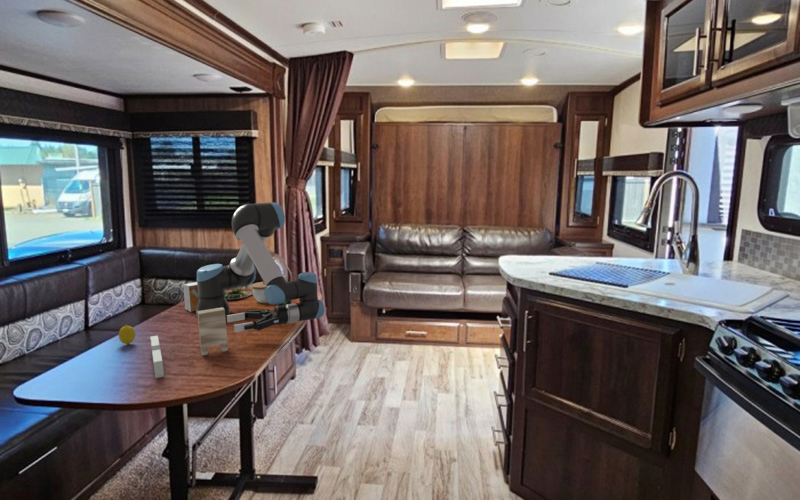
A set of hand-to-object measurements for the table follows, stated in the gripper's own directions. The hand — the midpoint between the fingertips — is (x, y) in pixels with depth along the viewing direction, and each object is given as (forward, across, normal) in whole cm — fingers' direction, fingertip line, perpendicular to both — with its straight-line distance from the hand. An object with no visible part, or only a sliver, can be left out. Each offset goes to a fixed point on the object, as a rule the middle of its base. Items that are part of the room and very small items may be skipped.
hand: (230, 323), depth 172 cm
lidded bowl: (-28, +60, -10) cm, 67 cm away
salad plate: (-15, +78, -10) cm, 81 cm away
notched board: (+25, +1, -10) cm, 27 cm away
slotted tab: (+6, 0, -10) cm, 12 cm away
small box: (+5, +64, -10) cm, 65 cm away
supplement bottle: (-34, +45, -10) cm, 57 cm away
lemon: (+34, +27, -10) cm, 45 cm away
